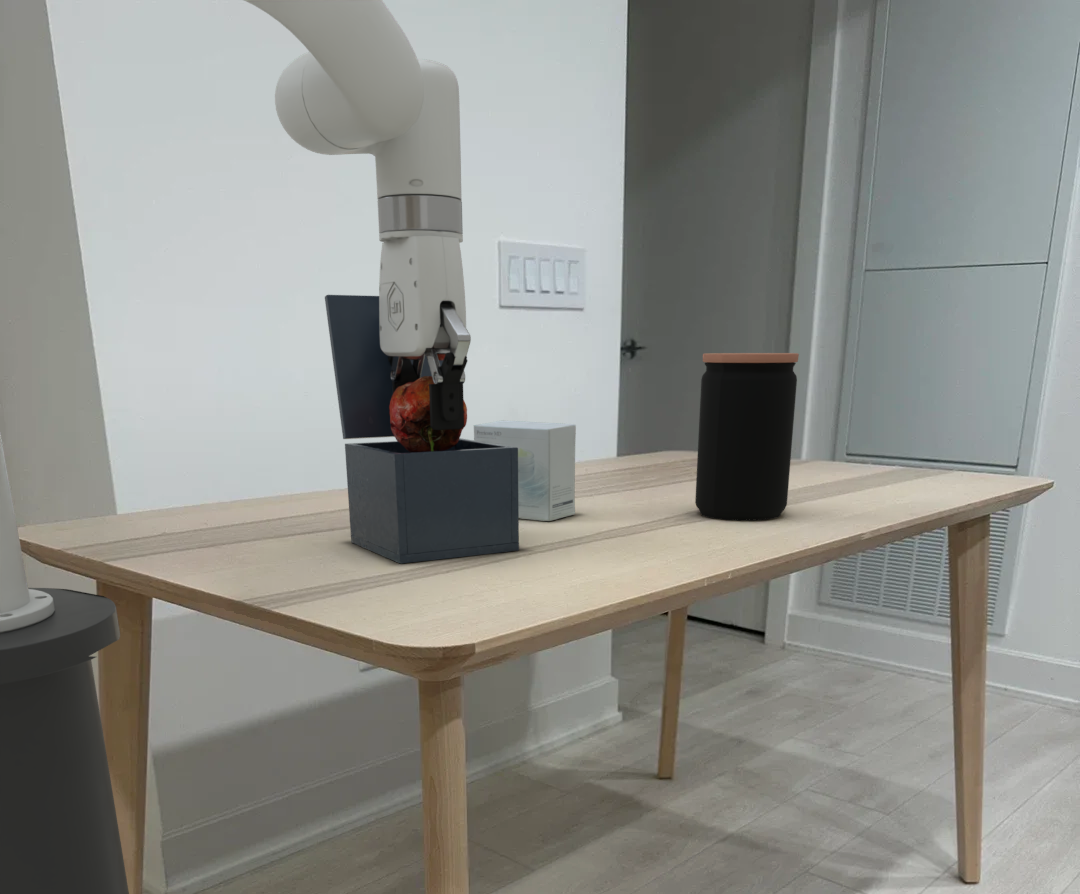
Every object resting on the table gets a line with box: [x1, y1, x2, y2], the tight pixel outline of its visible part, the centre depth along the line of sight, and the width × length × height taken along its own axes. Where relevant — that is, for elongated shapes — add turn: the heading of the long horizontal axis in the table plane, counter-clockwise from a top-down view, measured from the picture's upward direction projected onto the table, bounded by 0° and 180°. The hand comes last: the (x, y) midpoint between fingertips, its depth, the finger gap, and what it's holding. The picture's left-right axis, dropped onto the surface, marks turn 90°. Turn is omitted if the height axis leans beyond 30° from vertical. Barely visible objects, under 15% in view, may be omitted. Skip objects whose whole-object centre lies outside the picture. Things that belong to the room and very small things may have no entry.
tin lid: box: [324, 294, 443, 440], centre depth 102 cm, size 13×13×1 cm
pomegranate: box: [389, 376, 468, 452], centre depth 97 cm, size 7×7×10 cm
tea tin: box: [344, 437, 520, 565], centre depth 100 cm, size 13×13×10 cm
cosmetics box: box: [473, 419, 577, 522], centre depth 119 cm, size 10×6×10 cm, turn 58°
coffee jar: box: [694, 352, 800, 522], centre depth 117 cm, size 11×11×18 cm
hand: (428, 425), depth 97 cm, fingers closed on pomegranate, 7 cm apart
